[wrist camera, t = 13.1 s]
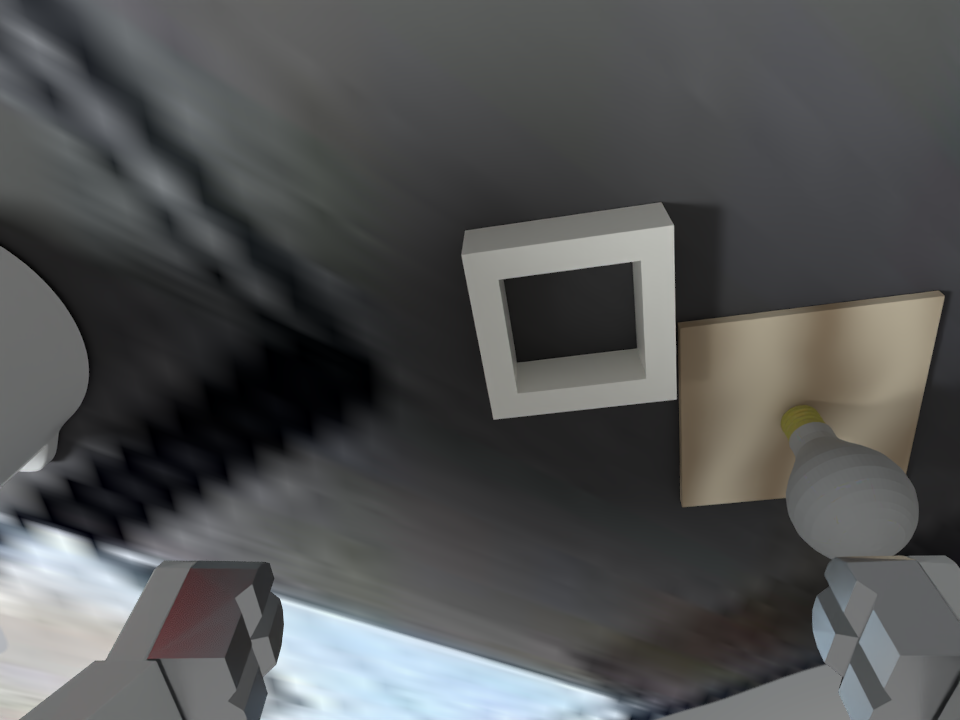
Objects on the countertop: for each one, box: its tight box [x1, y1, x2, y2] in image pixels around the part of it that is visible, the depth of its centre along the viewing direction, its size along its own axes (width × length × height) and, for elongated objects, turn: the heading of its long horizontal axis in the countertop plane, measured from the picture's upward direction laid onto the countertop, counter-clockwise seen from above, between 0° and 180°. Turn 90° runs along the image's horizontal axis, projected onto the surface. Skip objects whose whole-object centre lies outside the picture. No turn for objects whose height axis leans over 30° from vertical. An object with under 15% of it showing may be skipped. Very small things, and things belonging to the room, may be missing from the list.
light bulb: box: [780, 405, 919, 559], centre depth 34 cm, size 5×6×10 cm
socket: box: [461, 202, 677, 420], centre depth 34 cm, size 10×10×3 cm
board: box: [678, 290, 945, 507], centre depth 38 cm, size 13×13×1 cm
